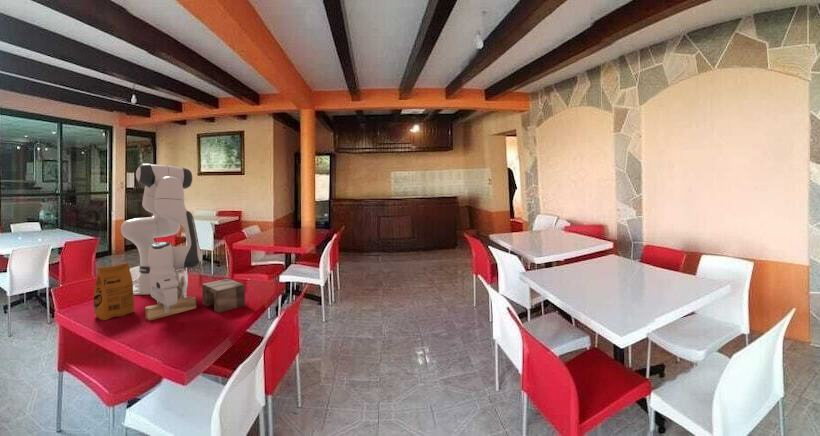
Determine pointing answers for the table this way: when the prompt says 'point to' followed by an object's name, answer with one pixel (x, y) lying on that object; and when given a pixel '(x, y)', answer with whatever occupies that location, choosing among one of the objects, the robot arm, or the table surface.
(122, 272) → the coffee package
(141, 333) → the table surface
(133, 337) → the table surface
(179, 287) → the beer glass
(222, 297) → the end cap
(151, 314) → the slat
